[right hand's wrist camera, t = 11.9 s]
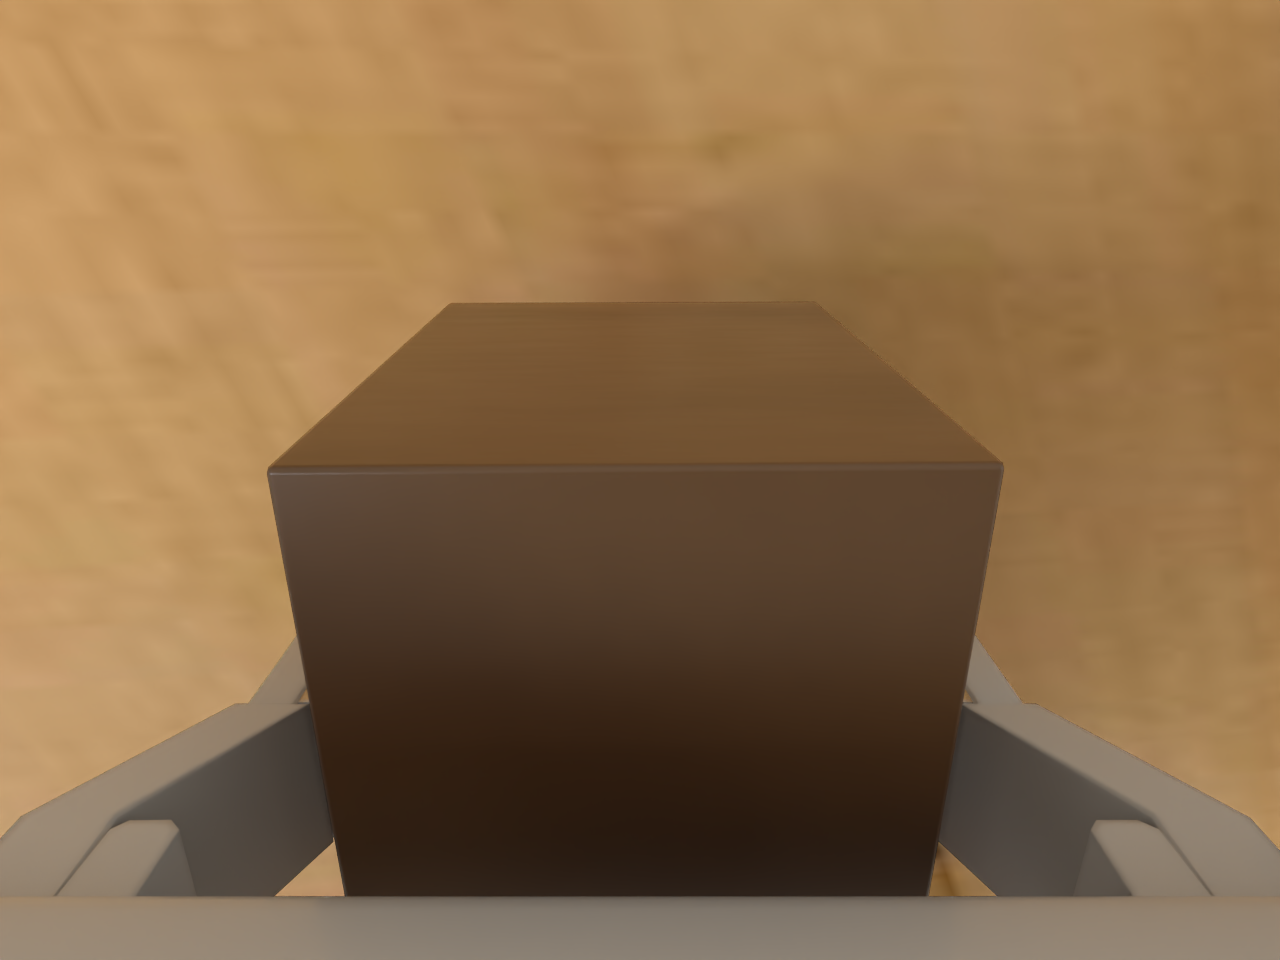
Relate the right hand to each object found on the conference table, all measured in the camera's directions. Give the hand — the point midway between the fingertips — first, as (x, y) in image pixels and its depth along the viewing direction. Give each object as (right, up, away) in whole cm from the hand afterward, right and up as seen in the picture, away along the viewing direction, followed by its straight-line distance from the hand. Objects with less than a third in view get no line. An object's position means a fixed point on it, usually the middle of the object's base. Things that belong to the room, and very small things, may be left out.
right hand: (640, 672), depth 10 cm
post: (0, -32, +16) cm, 36 cm away
